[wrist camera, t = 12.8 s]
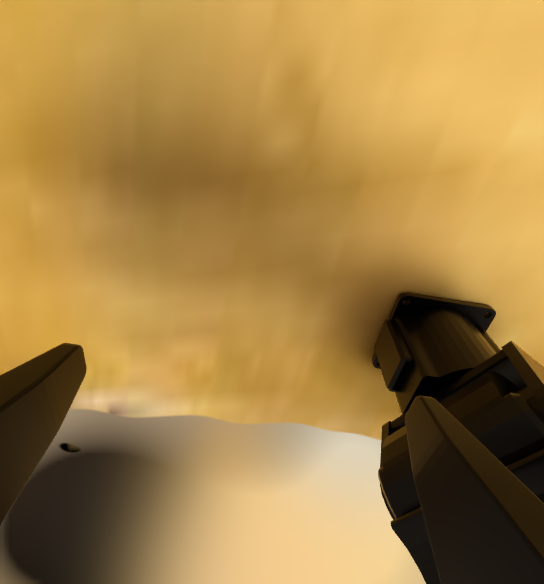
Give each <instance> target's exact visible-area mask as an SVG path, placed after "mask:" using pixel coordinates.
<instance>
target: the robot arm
mask: <svg viewBox="0 0 544 584" xmlns="http://www.w3.org/2000/svg"><path fill="white" fill-rule="evenodd" d="M405 299H409V300H408V301H407V302H403V301H404V300H405ZM487 312H488V313H487ZM485 313H487V314H486V315H484V314H485ZM495 315H496V312H495V311H494V309H493V308H492V307H491V306H487V305H481V304H475V303H469V302H463V301H456V300H450V299H444V298H438V297H432V296H426V295H419V294H413V293H402V294H400V295H399V296H398V298H397V300H396V303H395V305H394V307H393V310H392V312H391V315H390V317H389V319H387V320H386V321H385V322H384V325H383V327H382V329H381V332H380V334H379V337H378V339H377V342H376V344H375V347H374V348H375V353H374V356H373V358H372V362H373V365H374V367H376V368H379V369H381V370H382V374H383V377H384V380H385V383H386V386H387V388H388V389H389V391H393V392H395V394H396V397H397V400H398V403H399V406H400V409H401V412H402V415H401V416H400V417H398V418H397V419H395V420H394V421H392V422H391V421H389V422H387V423H386V424H384V425H383V426H382V442H381V463H380V469H379V471H378V476H379V480H380V487H381V492H382V496H383V498H384V501H385V504H386V506H387V509H388V511H389V513H390V515H391V516H392V518H393V521H391V526H392V529H393V530H394V532H395V533H396V534H397V536H398V537H399V538H400V540H401V541H402V542H403V544H404V545H405V546H406V548H407V549H408V551H409V552H410V554H411V556H412V558H413V559H414V561H415V563H416V564H417V566H418V568H419V570H420V571H421V573H422V575H423V578H424V580H425V582H426V584H544V367H543V366H541V365H540V364H539V363H538V362H537V361H535V360H534V359H533V358H532V357H530V356H529V355H528V354H527V353H526V352H524V351H523V350H522V349H521V348H519V347H518V346H517V345H516V344H515V343H513V342H512V341H510V342H509V343H507V344H506V345H504V346H503V347H502V350H500V349H499V348H498V346H497V345H496V344H495V343H494V342H493V340H492V339H491V338H490V337H489V335H488V334H487V333H486V330H487V329H488V327H489V325H490V324H491V322H492V321H493V319H494V317H495ZM378 361H379V362H378ZM85 374H86V363H85V357H84V352H83V348H82V347H81V346H80V345H77V344H70V343H63V344H61V345H59V346H57V347H55V348H53V349H51V350H49V351H47V352H45V353H43V354H41V355H39V356H37V357H35V358H33V359H31V360H29V361H27V362H25V363H24V364H22V365H20V366H18V367H16V368H14V369H12V370H10V371H8V372H6V373H4V374H2V375H0V525H1V523H2V522H3V520H4V519H5V517H6V515H7V514H8V512H9V510H10V509H11V507H12V506H13V504H14V502H15V501H16V499H17V497H18V496H19V494H20V493H21V491H22V489H23V488H24V486H25V485H26V483H27V481H28V480H29V478H30V476H31V475H32V473H33V472H34V470H35V468H36V467H37V465H38V463H39V462H40V460H41V458H42V457H43V455H44V454H45V452H46V450H47V449H48V447H49V445H50V444H51V442H52V441H53V439H54V437H55V436H56V434H57V432H58V430H59V429H60V427H61V425H62V423H63V421H64V418H65V417H66V414H67V412H68V410H69V408H70V406H71V404H72V402H73V400H74V398H75V396H76V394H77V392H78V390H79V387H80V385H81V383H82V381H83V379H84V377H85Z"/></svg>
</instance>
